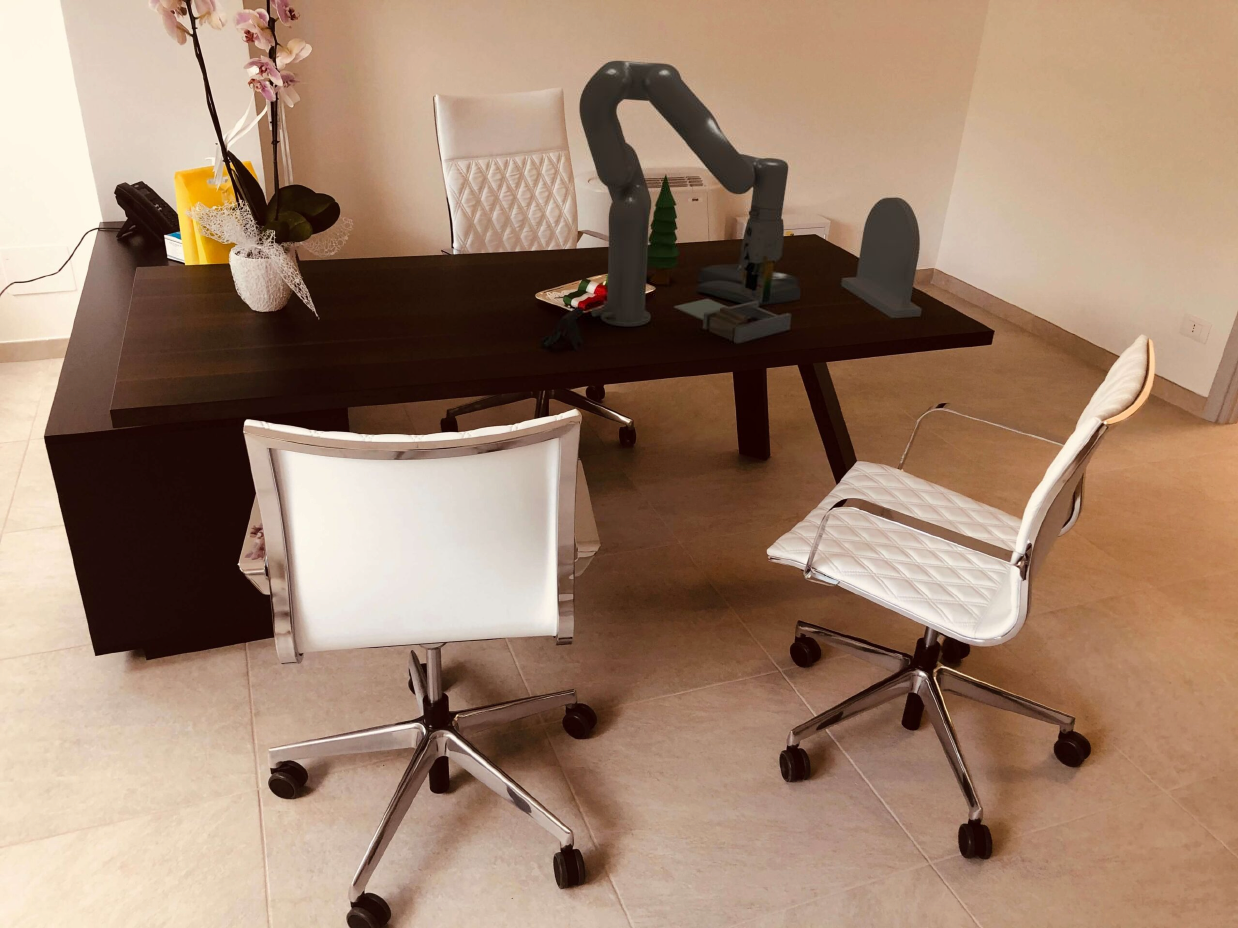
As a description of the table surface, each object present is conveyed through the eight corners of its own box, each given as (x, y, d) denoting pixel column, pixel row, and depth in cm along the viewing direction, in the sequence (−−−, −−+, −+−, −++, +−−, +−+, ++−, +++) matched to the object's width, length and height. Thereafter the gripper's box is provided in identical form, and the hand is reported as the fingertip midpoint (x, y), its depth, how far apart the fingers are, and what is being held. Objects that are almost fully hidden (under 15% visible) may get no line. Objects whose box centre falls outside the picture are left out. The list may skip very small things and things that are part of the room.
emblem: (696, 285, 254) (700, 256, 279) (695, 305, 257) (698, 274, 281) (804, 292, 252) (797, 262, 277) (801, 312, 255) (795, 280, 279)
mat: (704, 321, 245) (704, 319, 245) (673, 307, 253) (673, 306, 253) (738, 312, 251) (738, 311, 251) (707, 300, 260) (707, 298, 260)
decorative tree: (648, 286, 268) (654, 176, 254) (638, 276, 276) (643, 169, 262) (681, 285, 271) (689, 175, 257) (671, 275, 279) (677, 168, 265)
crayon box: (769, 301, 237) (775, 255, 232) (761, 303, 236) (767, 257, 230) (748, 293, 242) (754, 247, 237) (740, 295, 240) (745, 249, 235)
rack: (737, 343, 231) (738, 328, 230) (702, 328, 240) (703, 313, 238) (789, 329, 241) (791, 314, 239) (754, 315, 250) (755, 300, 248)
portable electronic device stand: (557, 336, 232) (557, 302, 228) (587, 341, 230) (588, 307, 226) (541, 348, 225) (541, 314, 221) (572, 353, 222) (572, 319, 218)
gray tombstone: (921, 316, 254) (942, 211, 241) (892, 318, 252) (911, 212, 239) (868, 284, 278) (884, 186, 265) (840, 286, 275) (855, 187, 262)
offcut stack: (731, 341, 233) (733, 319, 231) (709, 331, 239) (711, 310, 236) (745, 337, 236) (747, 316, 233) (722, 328, 241) (724, 307, 239)
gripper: (752, 220, 222) (742, 297, 231) (801, 213, 231) (789, 287, 240) (730, 213, 227) (721, 288, 236) (778, 206, 236) (768, 279, 245)
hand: (755, 287), depth 238 cm, fingers closed on crayon box, 3 cm apart
